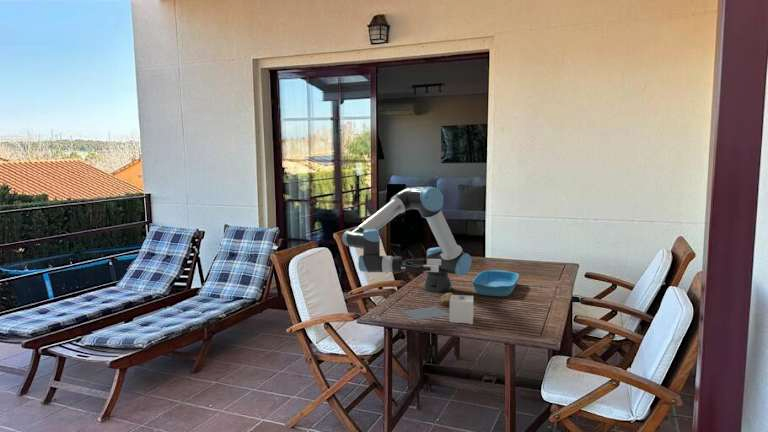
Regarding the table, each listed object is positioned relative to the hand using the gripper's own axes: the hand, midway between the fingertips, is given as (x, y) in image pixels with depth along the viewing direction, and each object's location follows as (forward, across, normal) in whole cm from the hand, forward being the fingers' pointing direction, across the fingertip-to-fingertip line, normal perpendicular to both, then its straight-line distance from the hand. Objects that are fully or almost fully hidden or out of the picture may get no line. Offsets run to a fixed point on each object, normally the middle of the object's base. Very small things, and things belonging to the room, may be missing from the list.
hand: (439, 265), depth 226 cm
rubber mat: (-7, -6, -25) cm, 26 cm away
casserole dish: (+26, -57, -26) cm, 67 cm away
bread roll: (+3, -22, -25) cm, 34 cm away
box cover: (+10, 0, -25) cm, 26 cm away
